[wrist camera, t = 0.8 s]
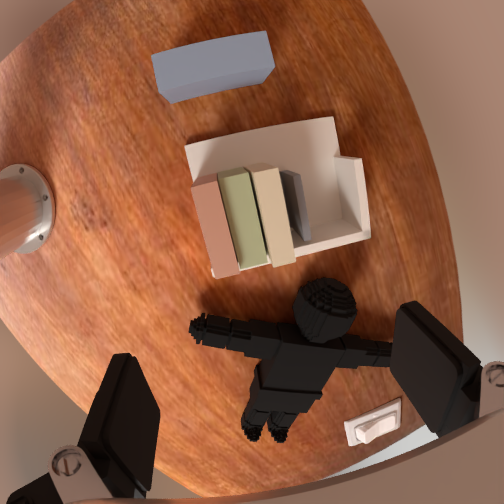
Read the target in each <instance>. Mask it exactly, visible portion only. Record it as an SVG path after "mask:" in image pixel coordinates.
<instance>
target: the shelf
mask: <svg viewBox="0 0 504 504" xmlns="http://www.w3.org/2000/svg"><path fill="white" fill-rule="evenodd" d="M185 150H186V154H187V158H188V162H189V167H190V171H191V175H192V179H193V184H192V186H191V191H192V195H193V199H194V203H195V207H196V210H197V214H198V218H199V222H200V225H201V229H202V233H203V236H204V240H205V244H206V247H207V251H208V254H209V258H210V262H211V271H212V275H213V277H215V279H220V278H224V277H228V276H232V275H236V274H240V271H242V270H246V269H250V268H254V267H258V266H262V265H266V264H270V263H272V265H273V267H277V266H282V265H285V264H289V263H293V262H296V258H295V257H298V256H302V255H306V254H310V253H314V252H318V251H322V250H326V249H330V248H334V247H338V246H342V245H346V244H349V243H353V242H357V241H361V240H365V239H369V238H371V230H370V220H369V210H368V201H367V193H366V185H365V178H364V171H363V164H362V158H355V157H347V156H340V150H339V144H338V139H337V134H336V128H335V123H334V118H333V116H332V117H324V118H317V119H310V120H304V121H298V122H291V123H286V124H280V125H274V126H269V127H264V128H259V129H254V130H249V131H244V132H239V133H235V134H230V135H226V136H222V137H217V138H213V139H209V140H205V141H201V142H197V143H193V144H189V145H186V146H185Z"/></svg>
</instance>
